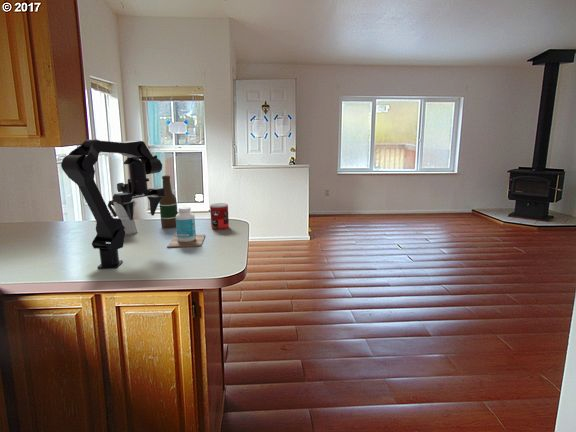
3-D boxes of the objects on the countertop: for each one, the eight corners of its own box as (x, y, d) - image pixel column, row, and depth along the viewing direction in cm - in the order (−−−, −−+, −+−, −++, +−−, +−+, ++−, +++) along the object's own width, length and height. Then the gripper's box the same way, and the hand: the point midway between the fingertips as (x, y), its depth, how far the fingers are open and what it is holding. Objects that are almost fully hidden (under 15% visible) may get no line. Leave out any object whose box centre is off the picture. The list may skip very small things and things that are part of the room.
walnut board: (201, 246, 157) (201, 245, 157) (167, 247, 156) (167, 246, 156) (205, 235, 173) (205, 234, 172) (174, 236, 171) (174, 235, 171)
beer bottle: (161, 225, 193) (157, 175, 188) (178, 223, 195) (174, 174, 190) (161, 228, 186) (157, 177, 180) (178, 227, 188) (174, 176, 183)
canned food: (209, 227, 188) (208, 204, 185) (226, 225, 191) (225, 202, 188) (213, 230, 181) (212, 206, 178) (231, 228, 184) (229, 205, 182)
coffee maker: (145, 231, 182) (141, 191, 178) (133, 236, 174) (129, 195, 170) (117, 229, 186) (113, 191, 182) (104, 234, 178) (99, 194, 174)
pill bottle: (197, 241, 162) (195, 208, 159) (179, 243, 159) (176, 210, 156) (194, 236, 169) (191, 205, 166) (176, 239, 166) (173, 207, 163)
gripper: (146, 172, 158) (149, 211, 161) (101, 177, 143) (106, 220, 146) (164, 173, 152) (167, 214, 155) (120, 179, 137) (124, 223, 140)
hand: (142, 217), depth 149 cm, fingers open, 9 cm apart
